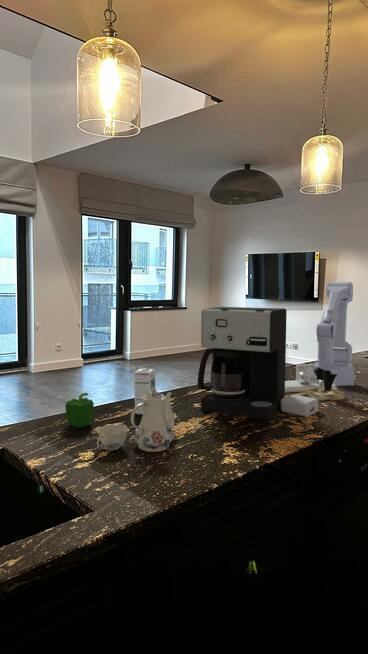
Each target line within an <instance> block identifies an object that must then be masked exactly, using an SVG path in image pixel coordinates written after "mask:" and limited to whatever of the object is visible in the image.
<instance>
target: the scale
mask: <svg viewBox="0 0 368 654" xmlns="http://www.w3.org/2000/svg"><path fill="white" fill-rule="evenodd" d="M295 367H296V368H295V380H285V393H299V392H305V388H318V384H316V383H314V369H317V368H316V367H314V363H310V364H309V363H307V364H305V363H303V364H295ZM299 372H309V373H310V381H309V384H308V385H302V384H299V383H298V382H299ZM332 388H333V389H336V386H333V385H332Z"/></svg>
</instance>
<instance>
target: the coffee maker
mask: <svg viewBox="0 0 368 654" xmlns="http://www.w3.org/2000/svg"><path fill="white" fill-rule="evenodd" d="M201 346H202V348H206V349H205V351H204V353H203V354H202V357H201V360H200V364H199V368H198V372H197V390H202V391H203V390H204V391H211V392H210V393H208V394H206V395H205V396H203V397H201V400H200V403H201V404H200V406H201V407H200V410H201V411H203V412H204V411H205V412H213V413H218V414H226V415H227V414H228V415H234V416H240V417H247V418H254V419H255V418H256V419H261V420H266V421H267V420H268V421H269V420H271V419H272V418H273V417H274V416H275V415H276V414H277V413H279V411H281V409H280V408H281V405H280V401H281V399H282V398H285V397H286V392H285V381H286V363H287V362H286V359H287V358H286V355H287V354H286V353H287V350H286V349H287V309H286V308H279V307H277V308H276V307H275V308H274V307H245V306H243V307H240V306H238V307H237V306H217V307H208V308H204V309H202V311H201ZM210 354H212V363H211V368H210V369H211V370H210V384H204V383H205V382H204V381H205V372H206V366H207V363H208V359H209V356H210Z"/></svg>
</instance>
